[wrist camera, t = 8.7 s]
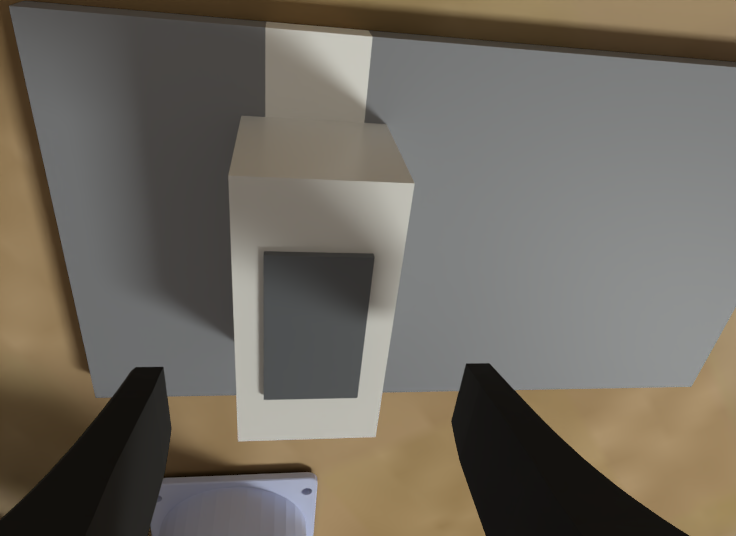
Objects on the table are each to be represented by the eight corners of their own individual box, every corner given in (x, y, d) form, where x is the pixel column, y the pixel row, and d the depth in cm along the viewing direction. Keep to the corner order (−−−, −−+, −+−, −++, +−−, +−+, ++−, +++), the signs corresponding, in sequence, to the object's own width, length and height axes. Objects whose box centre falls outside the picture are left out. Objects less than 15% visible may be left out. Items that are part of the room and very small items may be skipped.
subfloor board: (678, 371, 27) (691, 386, 26) (102, 379, 22) (95, 397, 22) (838, 70, 19) (863, 78, 18) (23, 0, 15) (8, 6, 14)
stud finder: (359, 347, 22) (376, 441, 18) (246, 347, 21) (237, 446, 17) (386, 124, 17) (416, 186, 13) (241, 115, 16) (227, 178, 13)
